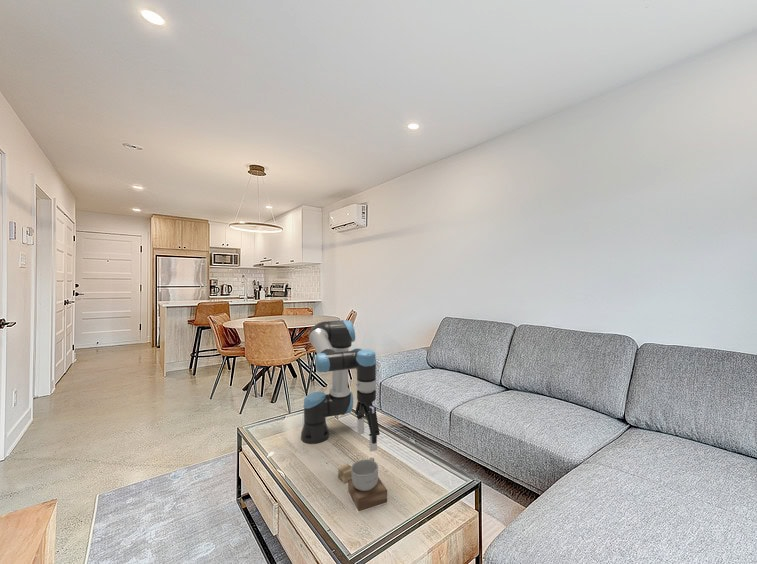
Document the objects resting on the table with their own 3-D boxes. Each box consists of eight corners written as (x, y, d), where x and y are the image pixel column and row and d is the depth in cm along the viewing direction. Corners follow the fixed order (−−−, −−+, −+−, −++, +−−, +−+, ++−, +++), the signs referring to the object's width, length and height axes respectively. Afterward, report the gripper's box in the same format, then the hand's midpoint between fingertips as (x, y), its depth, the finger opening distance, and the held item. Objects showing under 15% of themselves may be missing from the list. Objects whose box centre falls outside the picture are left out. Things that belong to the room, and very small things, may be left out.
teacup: (368, 499, 123) (367, 478, 123) (345, 488, 129) (345, 468, 129) (387, 479, 135) (387, 460, 135) (365, 470, 141) (365, 452, 141)
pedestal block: (348, 491, 135) (348, 479, 135) (375, 483, 140) (375, 472, 140) (358, 511, 124) (358, 498, 124) (387, 502, 129) (387, 489, 129)
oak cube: (338, 479, 144) (338, 467, 144) (347, 474, 148) (347, 463, 147) (344, 484, 141) (344, 473, 140) (354, 480, 144) (353, 468, 143)
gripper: (347, 381, 141) (348, 429, 142) (369, 403, 118) (369, 460, 119) (363, 378, 144) (364, 426, 145) (388, 399, 121) (388, 455, 122)
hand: (366, 441), depth 132 cm, fingers open, 13 cm apart
